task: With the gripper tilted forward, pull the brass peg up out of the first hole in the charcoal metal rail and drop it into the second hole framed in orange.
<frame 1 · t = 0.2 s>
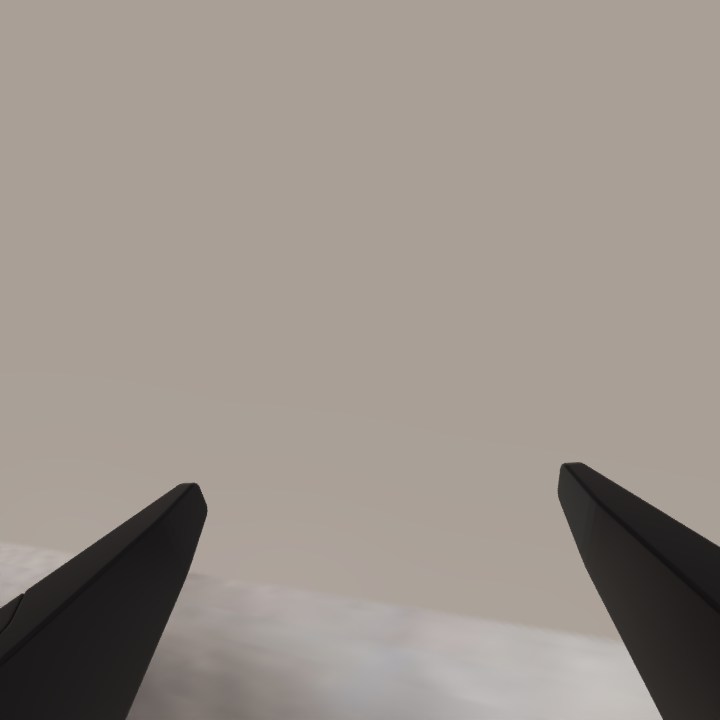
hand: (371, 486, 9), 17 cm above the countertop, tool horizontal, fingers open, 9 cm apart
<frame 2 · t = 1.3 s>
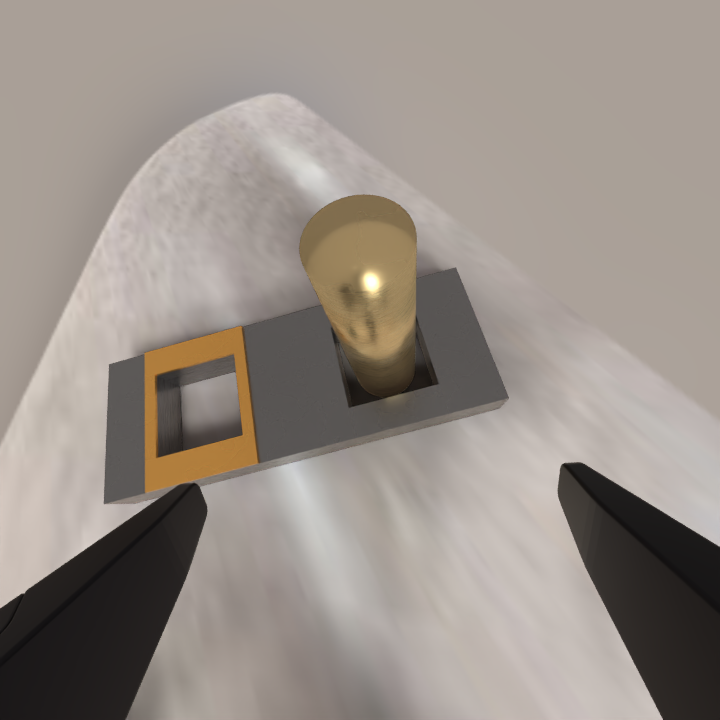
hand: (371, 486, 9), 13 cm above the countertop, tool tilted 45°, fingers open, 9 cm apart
hole rail: (300, 390, 24), on the countertop
brass peg: (385, 368, 24), resting in hole rail
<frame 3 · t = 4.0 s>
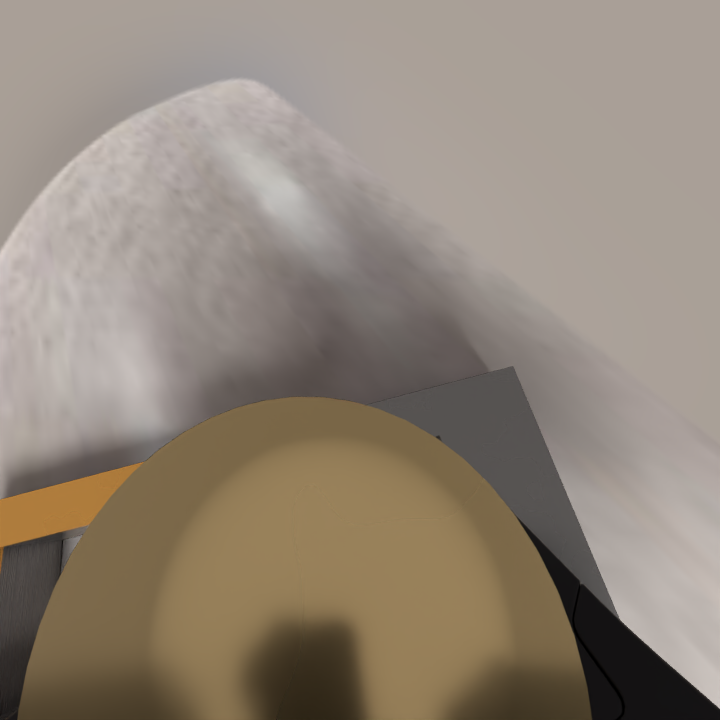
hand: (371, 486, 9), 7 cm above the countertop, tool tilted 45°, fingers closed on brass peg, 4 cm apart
hole rail: (251, 561, 15), on the countertop
brass peg: (390, 527, 15), resting in hole rail, touching gripper
when the fingers open (8 cm above the countertop, at t = 7.9 s): brass peg drops 1 cm, resting in hole rail.
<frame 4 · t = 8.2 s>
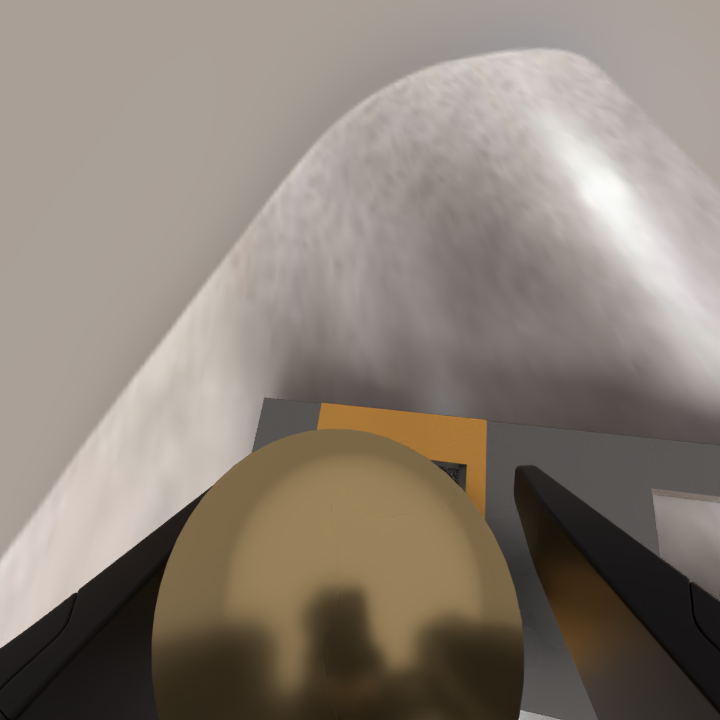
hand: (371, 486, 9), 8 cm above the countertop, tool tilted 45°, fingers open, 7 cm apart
hole rail: (535, 547, 15), on the countertop
brass peg: (392, 525, 16), resting in hole rail
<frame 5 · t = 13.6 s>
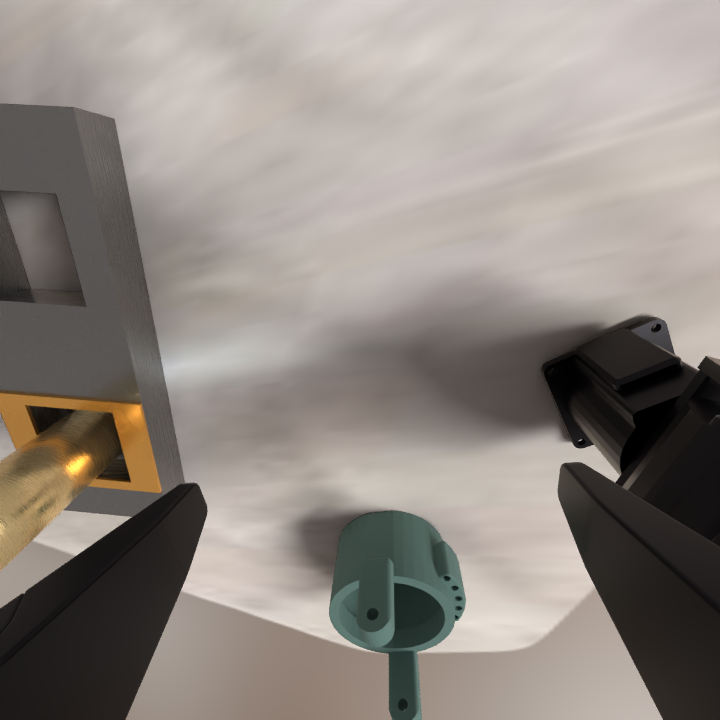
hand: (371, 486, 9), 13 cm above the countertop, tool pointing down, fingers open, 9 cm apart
hole rail: (88, 342, 23), on the countertop
brass peg: (111, 421, 25), resting in hole rail
bracket: (395, 546, 29), on the countertop
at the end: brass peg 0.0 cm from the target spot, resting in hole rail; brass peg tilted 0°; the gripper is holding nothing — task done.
